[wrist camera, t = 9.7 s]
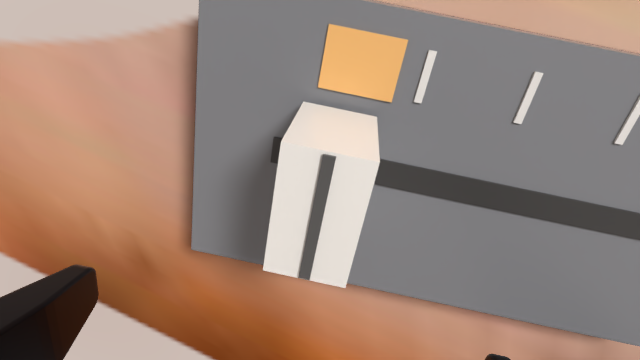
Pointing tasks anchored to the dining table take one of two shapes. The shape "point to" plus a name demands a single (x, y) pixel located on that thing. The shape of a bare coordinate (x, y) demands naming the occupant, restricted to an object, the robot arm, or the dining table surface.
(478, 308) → the fader console
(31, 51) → the dining table surface
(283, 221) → the fader knob
